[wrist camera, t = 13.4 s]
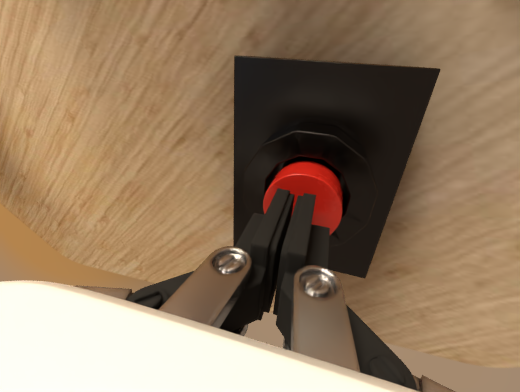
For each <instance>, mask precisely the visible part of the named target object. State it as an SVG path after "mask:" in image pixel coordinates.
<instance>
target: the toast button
mask: <svg viewBox="0 0 520 392" xmlns="http://www.w3.org/2000/svg"><path fill="white" fill-rule="evenodd" d="M278 188H279V189H285V190H290V194H294V203H293V210H294V207H295V204H296V201H297V198H298V195H300V196H303V194H304V193H308V194H313V195H316V200H315V206H314V212H313V218H312V224H313V225H318V226H323V227H328V228H330V234H332V233H333V232H334V231H335V230H336V228H337V227H338V225H339V223H340V221H341V218H342V187H341V184H340V182H339V179H338V178H337V176H336V175H335V174H334V173H333V172H332V171H331V170H330V169H329V168H327V167H326V166H324V165H322V164H320V163H317V162H313V161H297V162H293V163H290V164H288V165H286V166H285V167H283V168H282V169H281V170H280V171H279V172H278V173H277V174H276V176H275V177H274V179H273V181H272V183H271V184H270V186H269V188H268V189H267V191H266V193H265V196H264V200H263V209H264V214H265V213H266V211H267V209H268V207H269V205H270V203H271V201H272V199H273V197H274V195H275V193H276V191H277V189H278ZM293 210H292V214H293Z"/></svg>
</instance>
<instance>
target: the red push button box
mask: <svg viewBox="0 0 520 392" xmlns="http://www.w3.org/2000/svg"><path fill="white" fill-rule="evenodd" d="M439 72H440V69H437V68H425V67H411V66H395V65H380V64H364V63H349V62H333V61H317V60H302V59H286V58H271V57H255V56H235V60H234V247H235V245H236V244H237V242H238V240H239V238H240V237H241V235H242V233H243V231H244V229H245V228H246V226H247V224H248V222H249V221H250V219H251V217H252V215H253V214H254V213H258V214H263V215H265V214H264V209H263V200H264V196H265V193H266V191H267V189H268V188H269V186H270V184H271V183H272V181H273V179H274V177H275V176H276V174H277V173H278V172H279V171H280V170H281V169H282V168H283V167H285V166H286V165H288V164H290V163H293V162H297V161H313V162H317V163H320V164H322V165H324V166H326V167H327V168H329V169H330V170H331V171H332V172H333V173H334V174H335V175H336V176H337V178H338V179H339V182H340V184H341V187H342V218H341V221H340V223H339V225H338V227H337V228H336V230H335V231H334V232H333V233H332V234H330V236H329V254H328V270H332V271H336V272H340V273H345V274H349V275H353V276H357V277H361V278H365V277H366V275H367V272H368V269H369V266H370V264H371V261H372V258H373V255H374V253H375V250H376V247H377V244H378V241H379V239H380V236H381V233H382V230H383V228H384V225H385V222H386V219H387V216H388V214H389V211H390V208H391V205H392V203H393V200H394V197H395V194H396V192H397V189H398V186H399V183H400V180H401V178H402V175H403V172H404V169H405V167H406V164H407V161H408V158H409V156H410V153H411V150H412V147H413V144H414V142H415V139H416V136H417V133H418V131H419V128H420V125H421V122H422V119H423V117H424V114H425V111H426V108H427V106H428V103H429V100H430V97H431V95H432V92H433V89H434V86H435V83H436V81H437V78H438V75H439Z"/></svg>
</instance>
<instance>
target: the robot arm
mask: <svg viewBox="0 0 520 392" xmlns="http://www.w3.org/2000/svg"><path fill="white" fill-rule="evenodd" d="M315 200H316V195H313V194H308V193H304V194H303V196H300V195H298V198H297V201H296V204H295V207H294V210H293V203H294V194H290V190H285V189H279V188H278V189H277V191H276V193H275V195H274V197H273V199H272V201H271V203H270V205H269V207H268V209H267V211H266V213H265V215H263V214H258V213H254V214H253V215H252V217H251V219H250V221H249V222H248V224H247V226H246V228H245V229H244V231H243V233H242V235H241V237H240V238H239V240H238V242H237V244H236V245H235V247H234V246H227V247H222V248H219V249H217V250H215V251H214V252H212V253H211V254H210V255H209V256H208V257H207V258H206V259H205V261H204V262H203V263H202V264H201V265H200V266H199V267H198V268H197V269H196V270H195V271H192V272H189V273H186V274H183V275H180V276H177V277H174V278H171V279H168V280H165V281H162V282H159V283H156V284H154V285H150V286H147V287H144V288H142V289H140V290H138V291H136V292H135V293H132V289H122V288H106V287H90V286H70V285H66V284H60V283H53V282H46V281H28V280H27V281H26V280H18V281H3V282H0V392H455V391H453V390H451V389H449V388H447V387H445V386H443V385H441V384H439V383H437V382H435V381H433V380H431V379H429V378H427V377H425V376H423V375H422V377H421V378H418V377H416V376H414V375H412V374H411V372H410V371H409V369H408V368H407V367H406V365H405V364H404V363H403V362H402V361H401V360H400V359H399V358H398V357H397V356H396V355H395V354H394V353H393V352H392V351H391V350H390V349H389V347H388V346H387V345H386V344H385V343H384V342H383V341H382V340H381V339H380V338H379V337H378V336H377V335H376V334H375V333H374V332H373V331H372V330H371V329H370V328H369V327H368V326H367V325H366V324H365V323H364V322H363V321H362V320H361V319H360V318H359V317H358V316H357V315H356V314H355V313H354V312H353V311H352V310H351V309H350V308H349V307H348V306H347V305H346V302H345V297H344V292H343V287H342V284H341V282H340V279H339V278H338V277H337V276H336V275H335V274H334V273H333V272H331V271H330V270H328V254H329V236H330V228H328V227H323V226H318V225H313V224H312V218H313V212H314V206H315ZM292 210H293V214H292ZM276 286H277V287H276ZM275 290H276V295H275V303H274V311H273V314H275V315H277V321H276V325H277V327H278V329H279V330H280V332H281V333H282V335H283V336H284V341H283V348H280V347H277V346H274V345H271V344H267V343H264V342H261V341H258V340H254V339H251V338H248V337H245V336H244V335H245V333H246V331H247V328H248V324H249V323H251V322H253V321H255V320H261V319H262V315H263V312H268V313H269V311H270V307H271V304H272V300H273V297H274V293H275Z"/></svg>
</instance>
